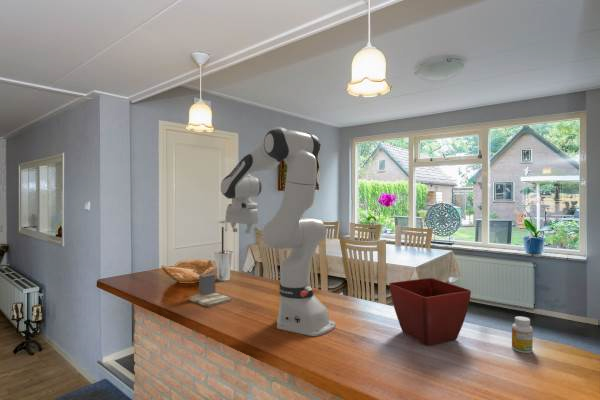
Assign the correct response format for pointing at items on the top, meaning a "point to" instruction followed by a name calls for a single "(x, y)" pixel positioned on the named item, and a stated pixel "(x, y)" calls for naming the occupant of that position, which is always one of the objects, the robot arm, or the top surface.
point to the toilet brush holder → (223, 262)
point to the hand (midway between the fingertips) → (241, 232)
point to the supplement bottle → (522, 335)
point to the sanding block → (206, 285)
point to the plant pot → (430, 309)
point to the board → (210, 299)
